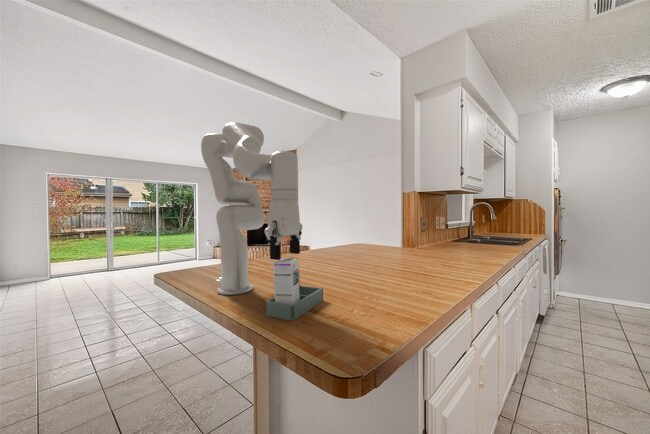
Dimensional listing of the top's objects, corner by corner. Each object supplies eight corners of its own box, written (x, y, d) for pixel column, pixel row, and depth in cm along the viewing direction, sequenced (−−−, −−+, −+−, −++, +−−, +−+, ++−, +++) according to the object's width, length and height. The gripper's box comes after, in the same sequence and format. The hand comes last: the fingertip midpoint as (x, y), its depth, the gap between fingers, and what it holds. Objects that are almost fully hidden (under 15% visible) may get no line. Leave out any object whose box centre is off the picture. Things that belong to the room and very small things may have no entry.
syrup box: (294, 313, 77) (292, 261, 76) (274, 312, 78) (272, 261, 78) (300, 306, 82) (299, 257, 82) (282, 305, 84) (280, 257, 83)
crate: (293, 320, 74) (292, 305, 74) (265, 315, 78) (265, 301, 78) (323, 300, 90) (323, 288, 90) (298, 297, 94) (298, 285, 94)
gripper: (290, 197, 89) (291, 250, 89) (254, 196, 73) (255, 260, 74) (311, 196, 85) (311, 252, 86) (277, 195, 70) (278, 263, 71)
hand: (285, 256), depth 80 cm, fingers open, 9 cm apart
